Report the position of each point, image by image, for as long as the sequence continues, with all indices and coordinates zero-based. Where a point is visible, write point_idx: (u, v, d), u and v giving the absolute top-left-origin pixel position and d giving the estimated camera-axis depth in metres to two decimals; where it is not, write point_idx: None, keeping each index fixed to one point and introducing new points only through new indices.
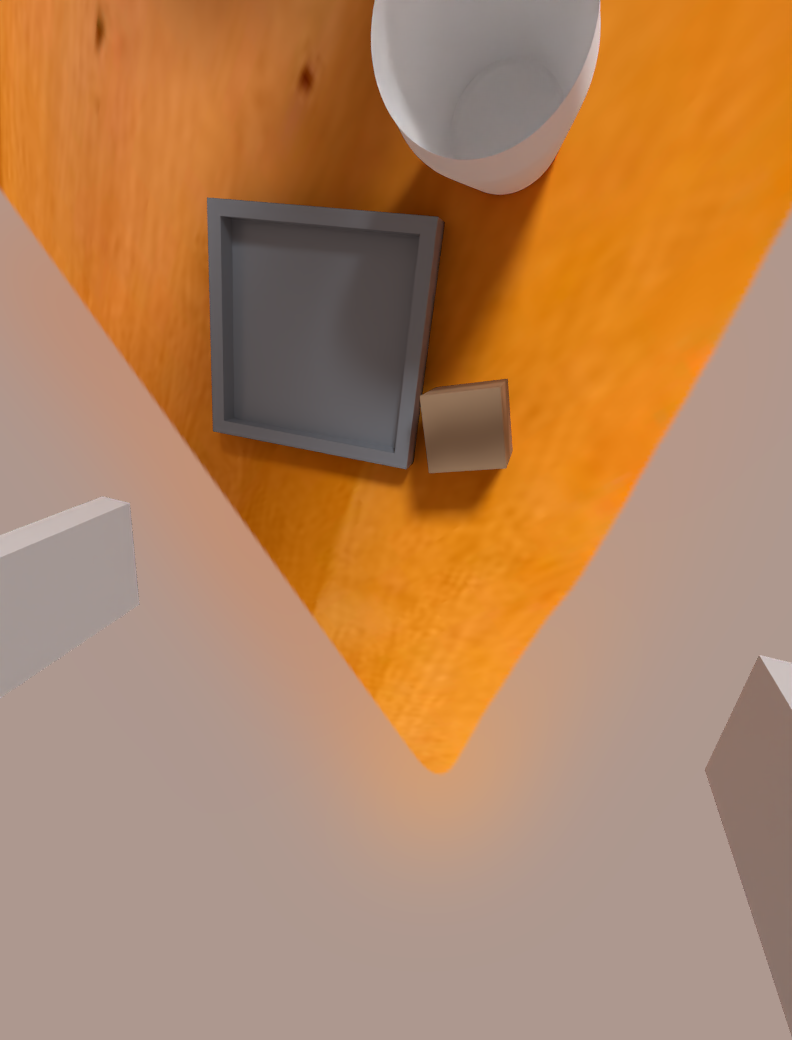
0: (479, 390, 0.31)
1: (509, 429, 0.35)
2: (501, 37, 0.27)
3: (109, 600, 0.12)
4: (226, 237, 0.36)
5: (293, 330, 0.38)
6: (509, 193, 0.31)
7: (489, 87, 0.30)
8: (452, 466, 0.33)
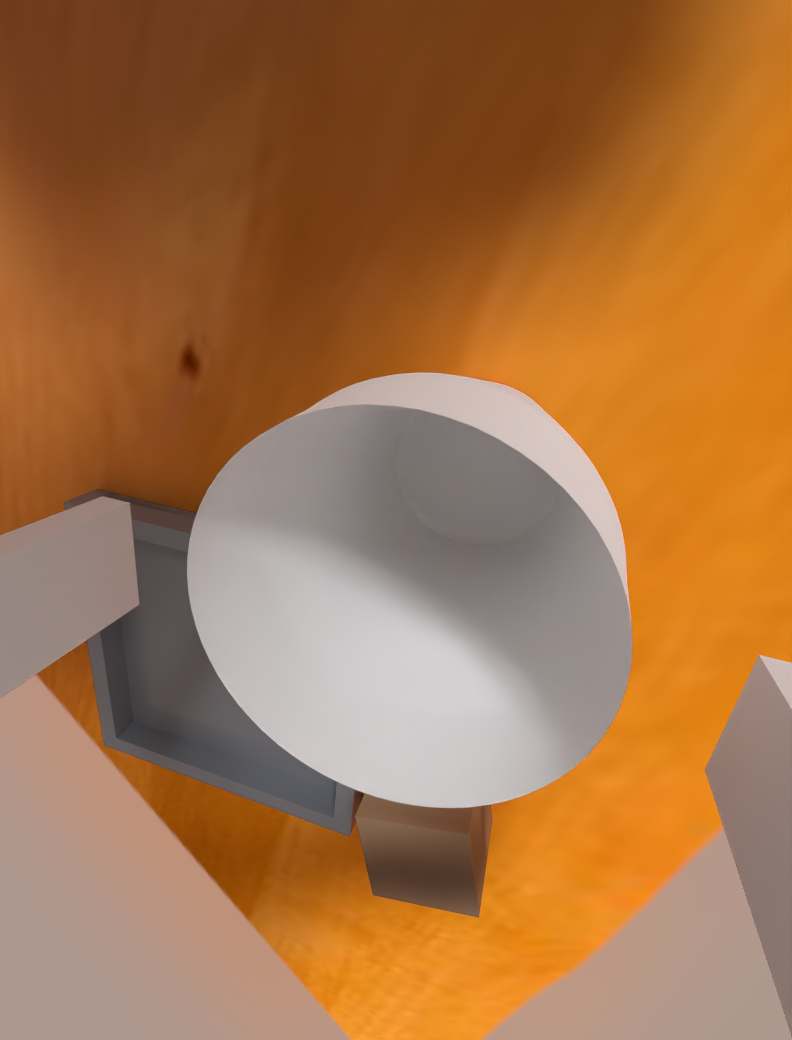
0: (438, 830, 0.22)
1: (486, 813, 0.26)
2: None
3: (109, 600, 0.12)
4: None
5: (197, 648, 0.28)
6: (481, 547, 0.21)
7: None
8: (404, 896, 0.24)
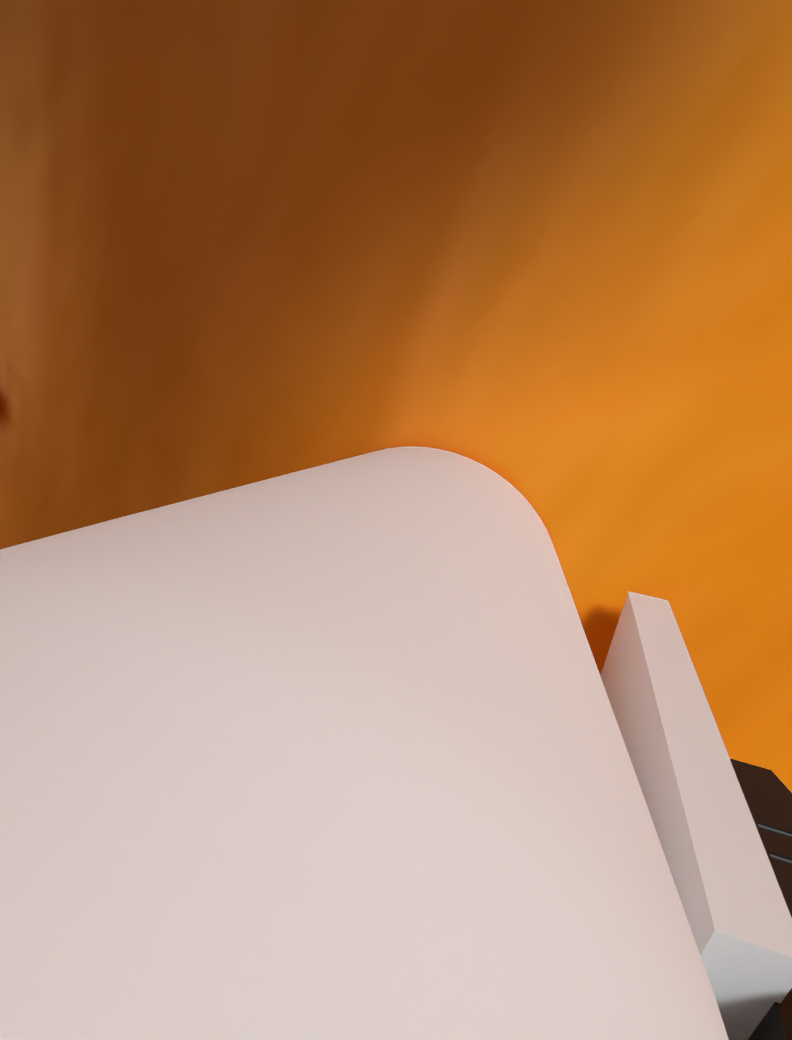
0: None
1: None
2: (377, 454, 0.10)
3: None
4: None
5: None
6: None
7: None
8: None
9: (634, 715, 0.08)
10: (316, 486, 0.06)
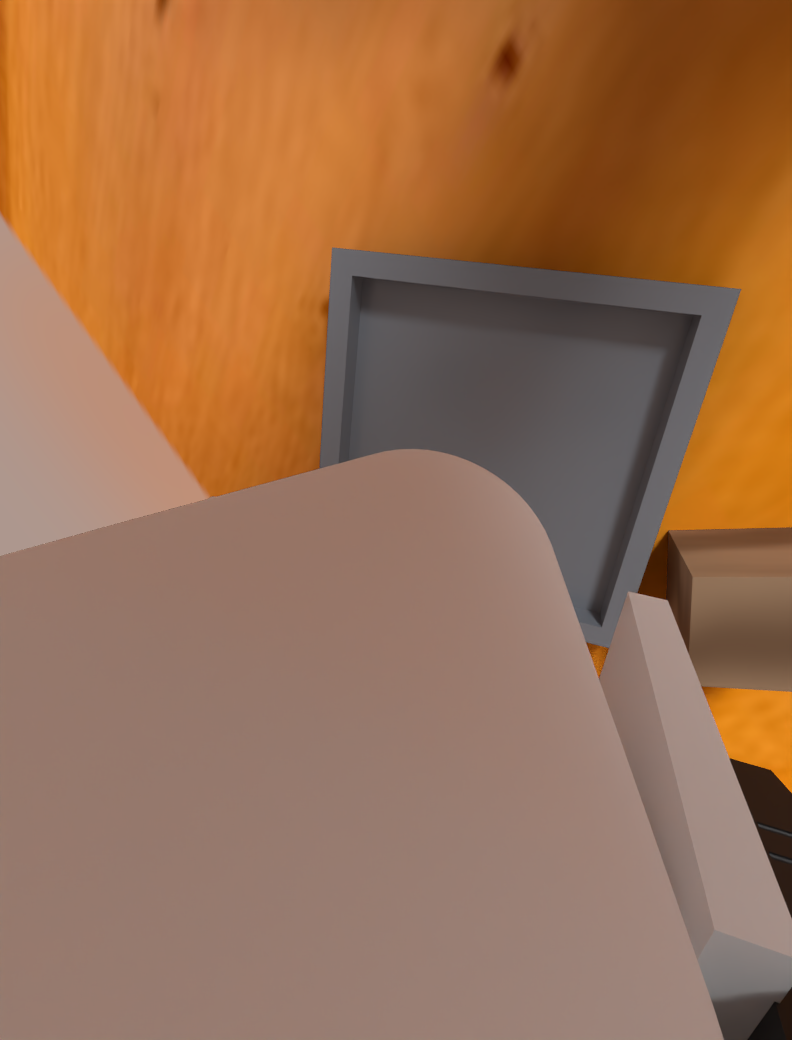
0: None
1: None
2: (376, 457, 0.10)
3: None
4: (355, 306, 0.23)
5: (446, 440, 0.25)
6: None
7: None
8: (732, 680, 0.21)
9: (634, 716, 0.08)
10: (315, 491, 0.06)
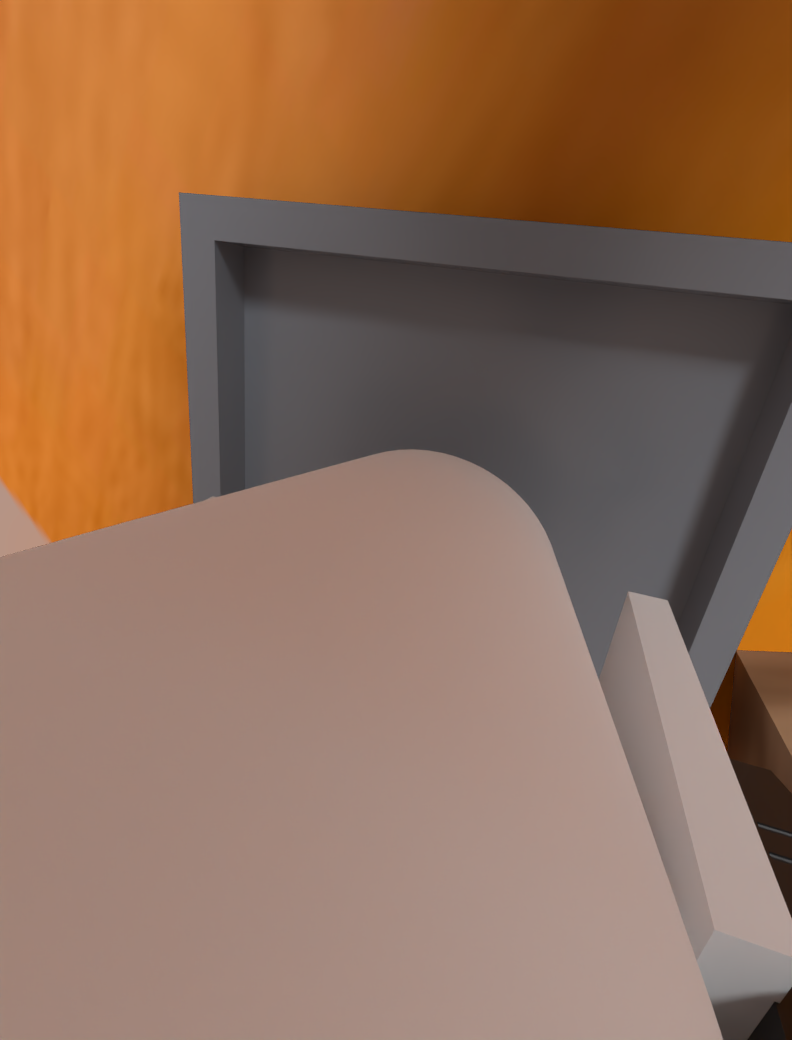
0: None
1: None
2: (376, 458, 0.10)
3: None
4: (230, 292, 0.14)
5: None
6: None
7: None
8: None
9: (633, 715, 0.08)
10: (315, 491, 0.06)
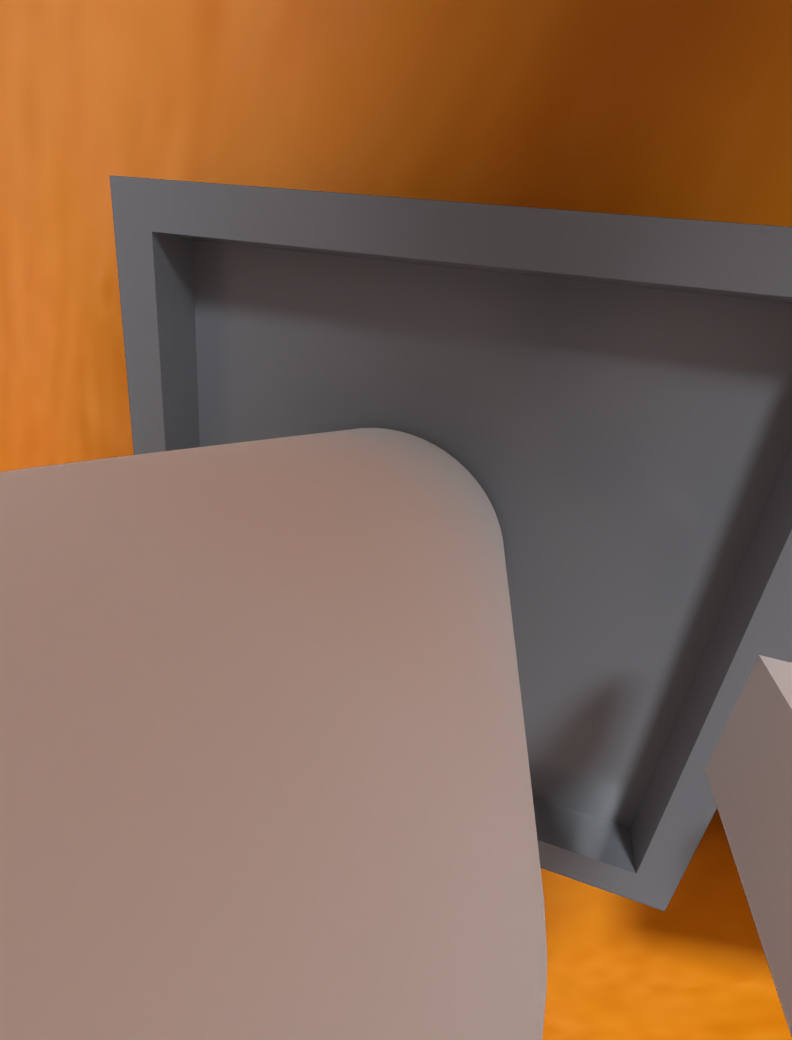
0: None
1: None
2: (333, 431, 0.11)
3: None
4: (175, 293, 0.12)
5: None
6: None
7: None
8: None
9: None
10: (262, 445, 0.07)
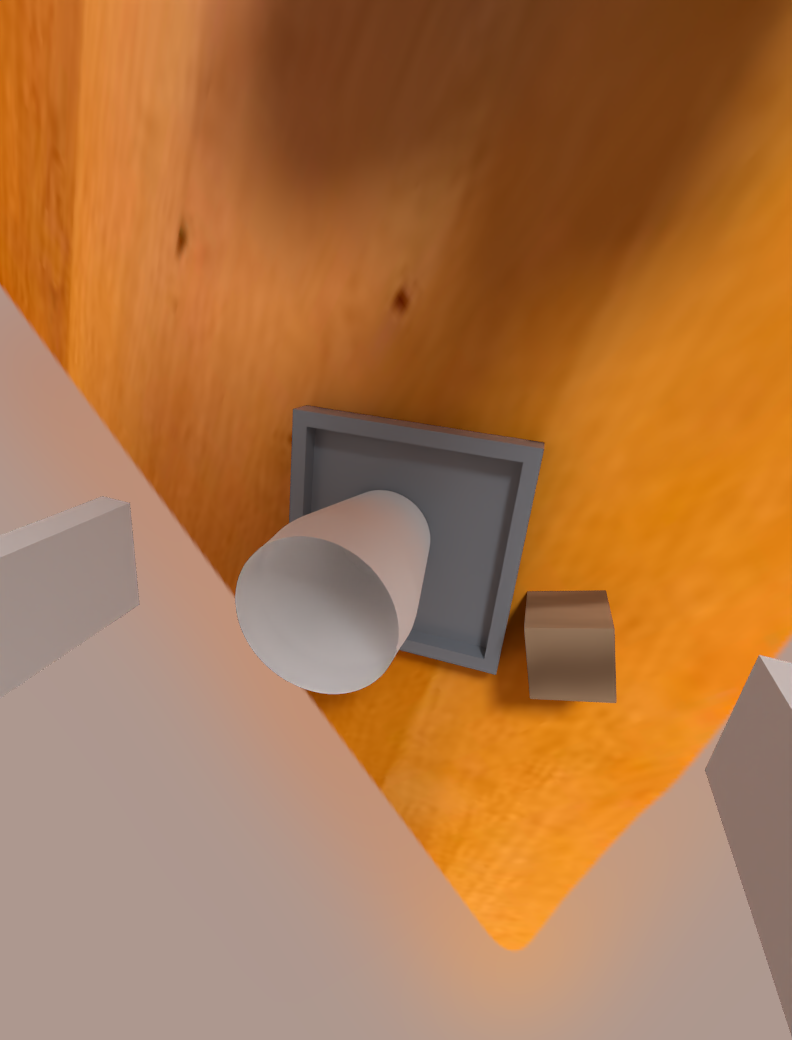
0: (590, 629, 0.30)
1: None
2: (368, 493, 0.33)
3: (109, 600, 0.12)
4: (310, 442, 0.35)
5: None
6: None
7: None
8: (556, 695, 0.32)
9: None
10: (356, 503, 0.29)
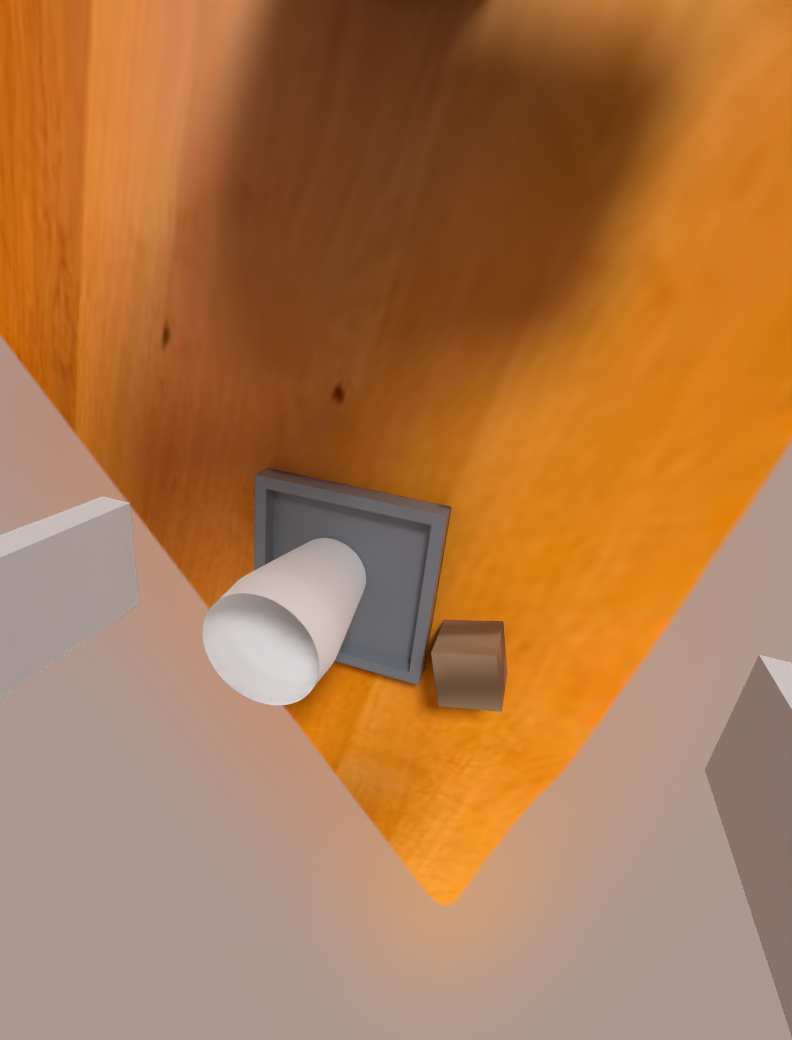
0: (479, 656, 0.39)
1: (504, 663, 0.43)
2: None
3: (109, 600, 0.12)
4: (269, 500, 0.43)
5: None
6: None
7: None
8: (457, 704, 0.41)
9: None
10: (299, 557, 0.38)
